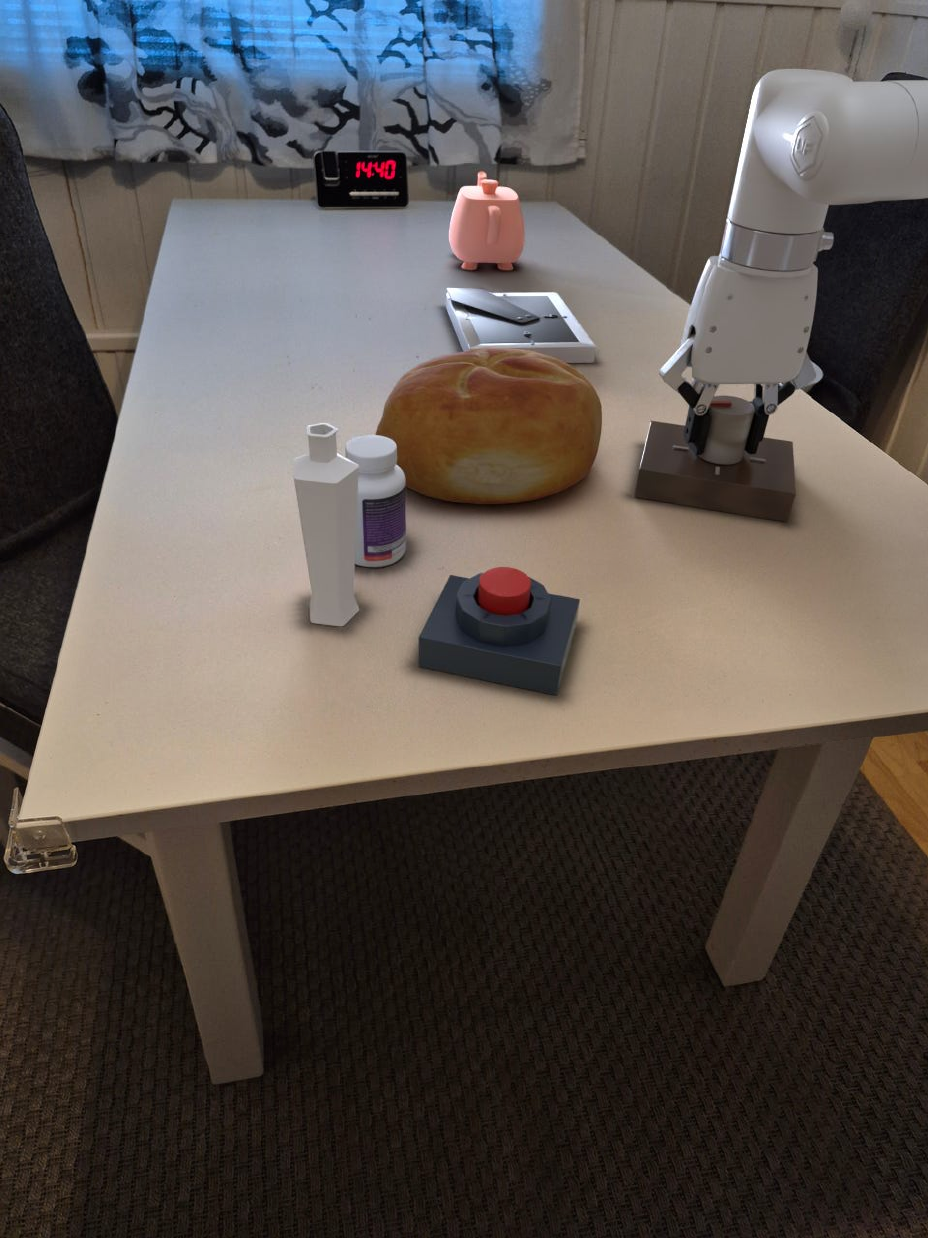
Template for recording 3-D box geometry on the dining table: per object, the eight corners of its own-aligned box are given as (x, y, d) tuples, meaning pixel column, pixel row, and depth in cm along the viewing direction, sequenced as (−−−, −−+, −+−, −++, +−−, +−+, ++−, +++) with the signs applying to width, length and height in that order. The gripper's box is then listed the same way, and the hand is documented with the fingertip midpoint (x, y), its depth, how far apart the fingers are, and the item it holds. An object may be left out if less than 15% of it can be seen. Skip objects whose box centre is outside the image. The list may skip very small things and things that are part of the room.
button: (533, 591, 63) (535, 571, 62) (523, 621, 60) (525, 600, 59) (484, 582, 64) (486, 562, 63) (472, 611, 61) (473, 590, 60)
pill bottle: (415, 541, 75) (416, 437, 69) (391, 575, 71) (389, 467, 65) (357, 528, 76) (353, 425, 71) (330, 560, 72) (323, 453, 66)
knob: (733, 443, 86) (746, 391, 83) (749, 464, 82) (763, 411, 79) (689, 443, 85) (700, 391, 82) (703, 465, 82) (716, 411, 79)
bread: (339, 428, 92) (334, 334, 86) (538, 399, 100) (547, 311, 94) (417, 539, 75) (418, 432, 69) (648, 494, 83) (667, 394, 77)
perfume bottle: (314, 637, 64) (299, 451, 55) (295, 604, 67) (277, 423, 58) (372, 621, 66) (367, 438, 57) (351, 590, 69) (342, 412, 60)
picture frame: (446, 308, 123) (468, 365, 107) (446, 287, 121) (469, 342, 105) (555, 307, 125) (593, 362, 109) (557, 286, 124) (596, 340, 107)
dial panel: (784, 468, 89) (793, 439, 87) (787, 522, 80) (796, 492, 78) (646, 446, 91) (651, 418, 89) (634, 497, 83) (639, 467, 81)
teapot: (530, 280, 135) (538, 195, 128) (454, 279, 134) (457, 193, 126) (511, 244, 151) (517, 166, 143) (442, 243, 149) (444, 165, 142)
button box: (575, 627, 67) (583, 578, 64) (556, 695, 60) (564, 645, 58) (449, 602, 68) (450, 554, 66) (418, 666, 62) (418, 616, 60)
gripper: (845, 235, 76) (789, 429, 87) (656, 233, 74) (623, 431, 86) (887, 260, 70) (821, 465, 82) (683, 258, 69) (644, 468, 80)
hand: (720, 446), depth 83 cm, fingers closed on knob, 4 cm apart
